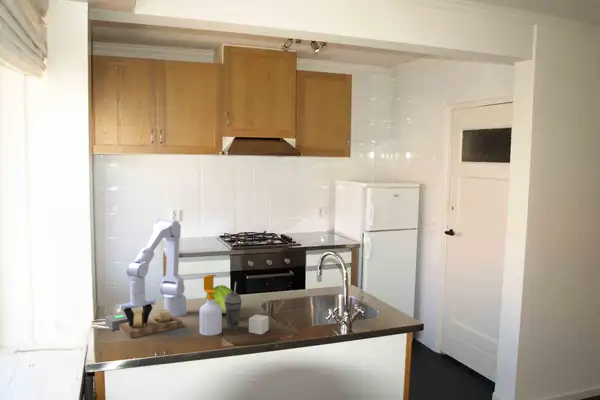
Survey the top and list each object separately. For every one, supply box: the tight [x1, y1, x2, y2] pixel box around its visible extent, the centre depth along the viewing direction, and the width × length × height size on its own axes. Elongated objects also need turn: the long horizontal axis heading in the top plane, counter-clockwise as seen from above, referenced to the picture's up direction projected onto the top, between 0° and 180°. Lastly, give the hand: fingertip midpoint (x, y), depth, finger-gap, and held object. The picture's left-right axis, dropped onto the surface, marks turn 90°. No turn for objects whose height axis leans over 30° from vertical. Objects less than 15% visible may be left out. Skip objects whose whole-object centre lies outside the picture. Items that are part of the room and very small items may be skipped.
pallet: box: [119, 314, 183, 339], centre depth 213 cm, size 22×12×3 cm, turn 129°
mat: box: [164, 327, 195, 339], centre depth 208 cm, size 9×9×1 cm
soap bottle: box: [198, 274, 223, 336], centre depth 209 cm, size 9×9×25 cm
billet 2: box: [156, 308, 170, 324], centre depth 216 cm, size 4×4×7 cm
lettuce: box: [205, 284, 234, 315], centre depth 234 cm, size 14×20×12 cm
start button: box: [114, 315, 125, 319], centre depth 217 cm, size 4×4×3 cm
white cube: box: [248, 313, 269, 335], centre depth 213 cm, size 6×6×6 cm
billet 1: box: [132, 309, 145, 329], centre depth 209 cm, size 4×4×7 cm
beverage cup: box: [224, 281, 243, 331], centre depth 215 cm, size 7×7×20 cm
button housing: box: [104, 312, 128, 332], centre depth 217 cm, size 9×9×4 cm
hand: (138, 324), depth 210 cm, fingers closed on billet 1, 5 cm apart
